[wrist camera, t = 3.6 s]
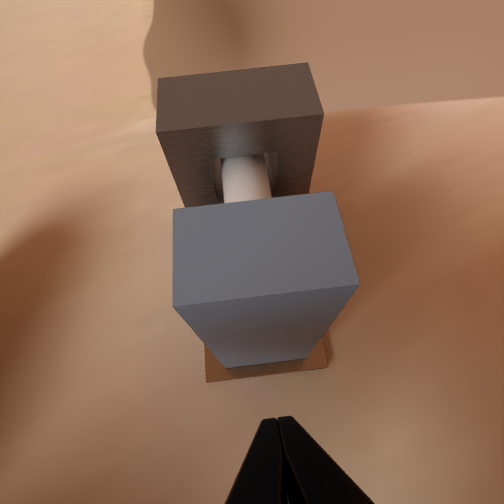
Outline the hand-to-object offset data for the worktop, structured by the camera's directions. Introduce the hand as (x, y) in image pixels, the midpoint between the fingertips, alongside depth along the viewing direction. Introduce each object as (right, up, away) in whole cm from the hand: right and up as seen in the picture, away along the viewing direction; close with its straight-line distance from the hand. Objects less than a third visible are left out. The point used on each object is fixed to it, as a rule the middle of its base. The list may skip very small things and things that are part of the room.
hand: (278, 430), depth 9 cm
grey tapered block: (-1, +3, +9) cm, 10 cm away
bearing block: (-1, +4, +10) cm, 10 cm away
